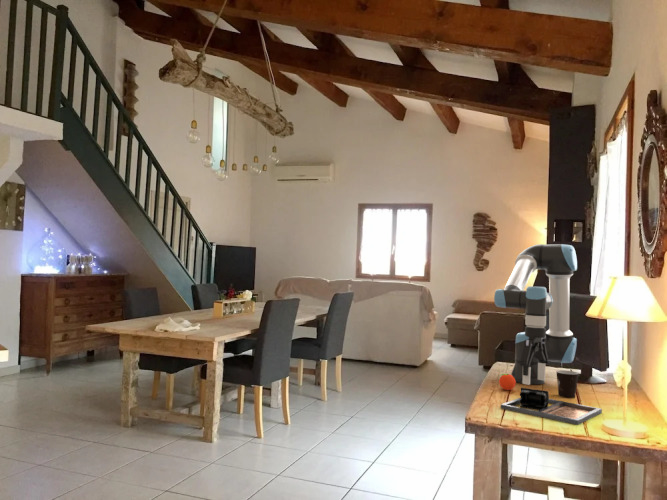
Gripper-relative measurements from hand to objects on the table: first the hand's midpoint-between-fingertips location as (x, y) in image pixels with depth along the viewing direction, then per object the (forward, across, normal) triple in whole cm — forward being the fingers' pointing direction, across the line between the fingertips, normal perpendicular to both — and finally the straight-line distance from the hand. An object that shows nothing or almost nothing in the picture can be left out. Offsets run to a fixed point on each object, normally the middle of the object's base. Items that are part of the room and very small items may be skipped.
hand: (533, 382), depth 218 cm
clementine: (+9, -20, -21) cm, 31 cm away
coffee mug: (+9, -28, +2) cm, 30 cm away
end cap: (+10, 0, 0) cm, 10 cm away
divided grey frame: (+10, 0, +7) cm, 12 cm away
